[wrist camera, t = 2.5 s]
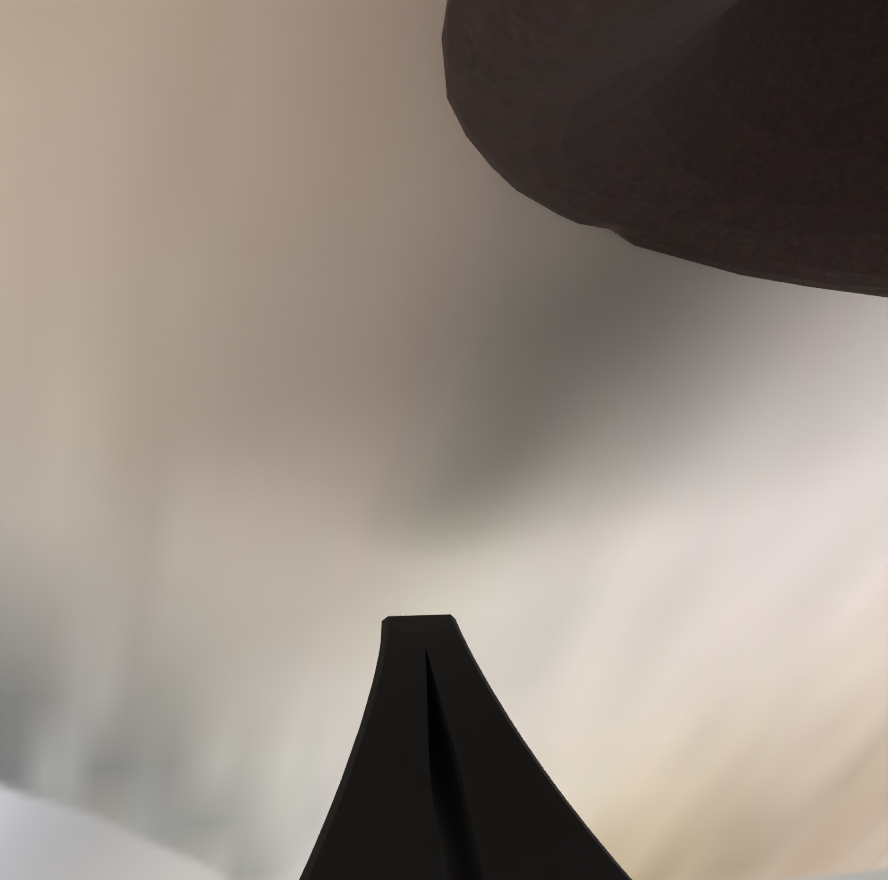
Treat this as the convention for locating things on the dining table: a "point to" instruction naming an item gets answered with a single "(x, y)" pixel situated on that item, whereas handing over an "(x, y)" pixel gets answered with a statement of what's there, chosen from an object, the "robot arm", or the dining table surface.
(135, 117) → the dining table surface
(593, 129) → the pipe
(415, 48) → the dining table surface
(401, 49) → the dining table surface
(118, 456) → the dining table surface
